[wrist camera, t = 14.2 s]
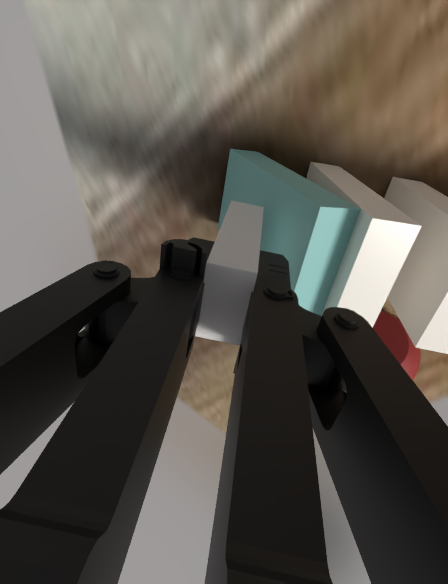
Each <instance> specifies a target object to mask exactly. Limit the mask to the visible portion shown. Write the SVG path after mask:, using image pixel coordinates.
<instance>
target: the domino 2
mask: <svg viewBox="0 0 448 584" xmlns="http://www.w3.org/2000/svg"><path fill="white" fill-rule="evenodd" d="M306 179H308V180H310V181H311V182H313V183H315V184H317V185H319V186H320V187H322V188H324V189H326V190H328V191H329V192H331V193H333V194H335V195H337V196H338V197H340V198H342V199H344V200H345V201H347V202H349V203H351V204H353V205H354V206H356V207H358V208H360V209H361V211H360V213H359V216H358V219H357V221H356V224H355V227H354V229H353V232H352V235H351V237H350V240H349V243H348V245H347V248H346V251H345V253H344V256H343V258H342V261H341V264H340V266H339V269H338V272H337V274H336V277H335V280H334V282H333V285H332V288H331V290H330V293H329V296H328V298H327V301H326V304H325V306H324V309H323V312H324V310H325V309H327V308H330V307H340V308H347V309H350V310H352V311H355V312H356V313H357V314H359V315H361V316H362V317H363V318H364V319H366V320H367V321H368V322H369V324H370V325H371V326H372V328H373V326H374V324H375V322H376V320H377V317H378V315H379V313H380V311H381V309H382V307H383V305H384V303H385V301H386V299H387V297H388V295H389V293H390V291H391V289H392V286H393V284H394V282H395V280H396V278H397V276H398V274H399V272H400V270H401V268H402V266H403V264H404V262H405V260H406V258H407V255H408V253H409V251H410V249H411V247H412V245H413V243H414V241H415V239H416V237H417V235H418V233H419V231H420V229H421V227H422V226H421V225H420V224H418V223H417V222H416V221H414V220H413V219H412V218H410V217H409V216H407V215H406V214H405V213H403V212H402V211H400V210H399V209H398V208H396V207H395V206H394V205H392V204H391V203H389V202H388V201H387V200H385V199H384V198H383V197H381V196H380V195H378V194H377V193H376V192H374V191H373V190H371V189H370V188H369V187H367V186H366V185H365V184H363V183H362V182H360V181H359V180H358V179H356V178H355V177H353V176H352V175H351V174H349V173H348V172H347V171H345V170H344V169H342V168H341V167H340V166H334V165H328V164H322V163H316V162H310V166H309V170H308V173H307V177H306ZM323 312H322V314H323ZM322 314H321V316H322Z"/></svg>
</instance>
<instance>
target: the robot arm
mask: <svg viewBox="0 0 448 584" xmlns="http://www.w3.org/2000/svg"><path fill="white" fill-rule="evenodd" d="M263 210H264V207H261V206H256V205H251V204H246V203H241V202H236V201H231V203H230V205H229V208H228V210H227V213H226V215H225V218H224V220H223V223H222V225H221V228H220V230H219V233H218V235H217V238H216V240H215V242H213V241H208V240H203V239H198V238H191V239H189V240H183V239H173V240H169V241H165V242H164V243H163V244H161V258H160V270H159V271H158V273H157V274H156V276H155V277H152V278H131V270H130V269H129V268H128V267H127V266H125V265H123V264H121V263H117V262H114V261H100V262H94V263H91V264H89V265H86V266H84V267H83V268H81V269H79V270H77V271H75V272H74V273H72V274H70V275H68V276H66V277H64V278H63V279H61V280H59V281H57V282H55V283H53V284H52V285H50V286H48V287H46V288H44V289H42V290H40V291H39V292H37V293H35V294H33V295H31V296H30V297H28V298H26V299H24V300H22V301H20V302H18V303H17V304H15V305H13V306H11V307H9V308H7V309H6V310H4V311H2V312H0V474H1V473H2V472H3V471H4V470H5V469H7V468H8V466H10V465H11V464H12V463H13V462H14V461H15V459H17V458H18V457H19V456H20V454H21V453H23V452H24V451H25V450H26V449H27V448H28V447H29V446H30V445H31V444H32V443H33V442H34V441H35V440H36V439H37V438H38V437H39V436H40V435H41V434H42V433H43V432H44V431H45V430H46V429H47V428H48V427H49V426H50V425H51V424H52V423H53V422H54V421H55V420H56V419H57V418H58V417H59V416H60V415H61V414H62V413H63V412H64V411H65V410H66V409H67V408H68V407H69V406H70V405H71V404H73V403H74V404H73V405H72V407H71V408H70V410H69V411H68V413H67V415H66V416H65V418H64V419H63V421H62V422H61V424H60V425H59V427H58V428H57V430H56V432H55V433H54V435H53V436H52V438H51V439H50V441H49V442H48V444H47V446H46V447H45V449H44V450H43V452H42V453H41V455H40V456H39V458H38V460H37V461H36V463H35V464H34V466H33V467H32V469H31V470H30V472H29V474H28V475H27V477H26V478H25V480H24V481H23V483H22V484H21V486H20V488H19V489H18V491H17V492H16V494H15V495H14V496H13V498H12V499H11V500H10V502H9V503H8V504H7V505H6V506H4V507H3V508H2V509H0V584H118V580H119V577H120V574H121V571H122V568H123V565H124V562H125V558H126V555H127V552H128V549H129V546H130V543H131V539H132V536H133V533H134V530H135V527H136V523H137V520H138V517H139V514H140V511H141V508H142V505H143V501H144V499H145V495H146V492H147V489H148V486H149V483H150V480H151V476H152V473H153V470H154V467H155V464H156V461H157V457H158V454H159V451H160V448H161V445H162V442H163V438H164V435H165V432H166V429H167V426H168V423H169V420H170V417H171V413H172V410H173V407H174V404H175V400H176V398H177V394H178V391H179V388H180V385H181V382H182V379H183V376H184V372H185V369H186V366H187V363H188V360H189V357H190V354H191V350H192V347H193V342H194V335H195V331H196V335H195V336H198V337H202V338H207V339H212V340H216V341H221V342H226V343H231V344H235V345H240V348H239V352H238V356H237V360H236V364H235V368H234V372H233V373H235V377H234V384H233V391H232V398H231V405H230V412H229V419H228V426H227V433H226V440H225V447H224V454H223V460H222V468H221V474H220V482H219V488H218V495H217V502H216V509H215V516H214V523H213V530H212V537H211V544H210V551H209V558H208V565H207V572H206V578H205V584H333V583H332V581H331V578H330V575H329V569H328V564H327V556H326V547H325V537H324V528H323V519H322V510H321V501H320V492H319V483H318V474H317V465H316V456H315V447H314V438H313V429H314V432H315V435H316V437H317V440H318V443H319V445H320V448H321V450H322V453H323V456H324V458H325V461H326V464H327V467H328V469H329V472H330V475H331V477H332V480H333V483H334V485H335V488H336V491H337V493H338V496H339V499H340V501H341V504H342V507H343V509H344V512H345V515H346V517H347V520H348V523H349V525H350V528H351V531H352V533H353V536H354V539H355V541H356V544H357V546H358V549H359V552H360V555H361V557H362V560H363V563H364V565H365V568H366V571H367V573H368V576H369V578H370V581H371V584H448V426H447V425H446V424H445V422H444V421H443V420H442V419H441V417H440V416H439V415H438V413H437V412H436V411H435V409H434V408H433V407H432V405H431V404H430V403H429V401H428V400H427V399H426V397H425V396H424V395H423V394H422V392H421V391H420V390H419V388H418V387H417V386H416V384H415V383H414V382H413V380H412V379H411V378H410V376H409V375H408V374H407V372H406V371H405V370H404V368H403V367H402V366H401V365H400V363H399V362H398V361H397V359H396V358H395V357H394V355H393V354H392V353H391V351H390V350H389V349H388V347H387V346H386V345H385V343H384V342H383V341H382V340H381V338H380V337H379V336H378V334H377V333H376V332H375V330H374V329H373V328H372V326H371V325H370V324H369V322H368V321H367V320H366V319H364V318H363V317H362V316H361V315H359V314H357V313H356V312H355V311H352V310H350V309H347V308H340V307H330V308H327V309H325V310H324V312H323V314H322V316H320V315H317V314H315V313H312V312H310V311H308V310H306V309H304V308H303V307H301V306H299V303H298V297H297V295H296V293H295V292H294V291H293V290H292V289H291V282H290V271H289V261H288V260H287V259H286V258H285V257H284V255H281V254H277V253H272V252H267V251H262V250H260V243H261V232H262V221H263ZM84 326H85V329H84V330H83V331H81V332H80V333H79V331H80V330H81V329H82V328H83V327H84ZM240 343H241V344H240ZM312 427H313V429H312Z"/></svg>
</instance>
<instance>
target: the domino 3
mask: <svg viewBox="0 0 448 584" xmlns="http://www.w3.org/2000/svg"><path fill="white" fill-rule="evenodd" d="M384 199H385V200H387V201H388V202H389V203H391V204H392V205H394V206H395V207H396V208H398V209H399V210H400V211H402V212H403V213H405V214H406V215H407V216H409V217H410V218H412V219H413V220H414V221H416V222H417V223H418V224H420V225H421V226H422V227H421V229H420V231H419V233H418V235H417V237H416V239H415V241H414V243H413V245H412V247H411V249H410V251H409V253H408V255H407V258H406V260H405V262H404V264H403V266H402V268H401V270H400V272H399V274H398V276H397V278H396V280H395V282H394V284H393V286H392V289H391V291H390V293H389V295H388V297H387V298H388V299H389V301H390V303H391V305H392V307H393V308H394V310H395V312H396V314H397V316H398V317H399V319H400V321H401V323H402V325H403V326H404V328H405V330H406V332H407V334H408V335H409V337H410V339H411V341H412V342H413V344H414V346H415V347H416V348H421V349H426V350H431V351H436V352H441V353H446V354H448V197H447V196H445V195H443V194H442V193H440V192H438V191H437V190H435V189H433V188H432V187H430V186H428V185H427V184H425V183H423V182H419V181H414V180H408V179H403V178H398V177H392V180H391V182H390V185H389V187H388V189H387V192H386V194H385V197H384Z"/></svg>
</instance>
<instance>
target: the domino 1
mask: <svg viewBox="0 0 448 584" xmlns="http://www.w3.org/2000/svg"><path fill="white" fill-rule="evenodd" d="M231 201H236V202H241V203H246V204H251V205H256V206H261V207H264V210H263V221H262V232H261V243H260V250H262V251H267V252H272V253H277V254H281V255H284V257H285V258H286V259H287V260H288V261H289V271H290V282H291V289H292V290H293V291H294V292H295V293H296V295H297V297H298V303H299V306H301V307H303V308H304V309H306V310H308V311H310V312H312V313H315V314H317V315H320V316H321V314H322V312H323V309H324V306H325V304H326V301H327V298H328V296H329V293H330V290H331V288H332V285H333V282H334V280H335V277H336V274H337V272H338V269H339V266H340V264H341V261H342V258H343V256H344V253H345V251H346V248H347V245H348V243H349V240H350V237H351V235H352V232H353V229H354V227H355V224H356V221H357V219H358V216H359V213H360V211H361V209H360V208H358V207H356V206H354V205H353V204H351V203H349V202H347V201H345V200H344V199H342V198H340V197H338V196H337V195H335V194H333V193H331V192H329V191H328V190H326V189H324V188H322V187H320V186H319V185H317V184H315V183H313V182H311V181H310V180H308V179H306V178H304V177H302V176H301V175H299V174H297V173H295V172H293V171H292V170H290V169H288V168H286V167H284V166H283V165H281V164H279V163H277V162H275V161H274V160H272V159H270V158H268V157H266V156H265V155H263V154H261V153H259V152H256V151H247V150H238V149H230V153H229V160H228V166H227V173H226V179H225V186H224V192H223V198H222V205H221V211H220V218H219V224H218V229H219V230H220V228H221V225H222V223H223V220H224V218H225V215H226V213H227V210H228V208H229V205H230V203H231Z"/></svg>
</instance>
